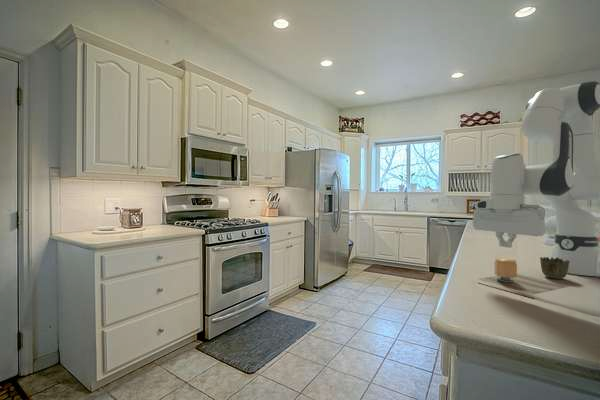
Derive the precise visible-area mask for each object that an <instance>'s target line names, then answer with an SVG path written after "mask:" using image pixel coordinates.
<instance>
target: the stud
mask: <svg viewBox="0 0 600 400" xmlns="http://www.w3.org/2000/svg"><path fill="white" fill-rule="evenodd" d="M497 280H498V281H500V282H505V283H514V280H513V279H510V278H507V277H498V278H497Z"/></svg>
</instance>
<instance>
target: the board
mask: <svg viewBox="0 0 600 400" xmlns="http://www.w3.org/2000/svg"><path fill="white" fill-rule="evenodd" d="M498 277H501V276H497V275H495V276H488V277H481V278H480V277H479V280H481V281H484V282H488V283H492V284H496V285H499V286H502V287H506V288H509V289H514V290H517V291H520V292H525V293H528V294H531V295H532V294H533V295H537V294H542V293H545V292H549V291H554V290H555V291H556V290H558V289H564V288H568V287H571V285H569V284H564V283H560V282H555V281H551V280H548V279H547V280H546V279H542V278H538V277H533V276H529V275H524V274H521V273H517V277H515V278H510V279H513V280H514V283H505V282H500V281H498V280H497V278H498ZM477 284H479V285H482V286H485V287H489V288H492V289H496V290H498V291H499V290H500V291H503V292H506V293H511V294H514V295H517V296H520V297H521V296H522V297H525V298H528V299H531V300H536V298H535V297H530V296H527V295H523V294H519V293H516V292H513V291H509V290H505V289H501V288H498V287H495V286H491V285H489V284H484V283H481V282H477Z"/></svg>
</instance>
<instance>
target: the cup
mask: <svg viewBox="0 0 600 400" xmlns="http://www.w3.org/2000/svg"><path fill="white" fill-rule="evenodd" d="M539 259H540V260H539V261H540V267H541V272H542V274H543V275H544V276H545V277H547V278H548V279H552V280H561V279H564V278H566V276H567V275H568V273H567V272H568V267H569V261H568V260H566V262H565V261H564V262H563V260H562V259H559V258H555V259H553V258H552V257H551V259H550V257H548V256H546V257H545V256H543V257H541V256H540V257H539Z"/></svg>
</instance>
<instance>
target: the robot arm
mask: <svg viewBox="0 0 600 400" xmlns="http://www.w3.org/2000/svg"><path fill="white" fill-rule="evenodd" d="M599 108H600V82H599V81H596V80H593V81H584V82H582V83H578V84H573V85H568V86H564V87H560V88H557V87H548V88H543V89H541V90H540V91H538V92H537V93H535V95H533V97H532V98H531V99H530V100H529V101H528V102H527V103H526V106H525V113H524V116H523V118H522V121H521V126H520V127H521V132H522V134H523V135H524V136H525V137H526V138H528V139H529V140H532V141H534V142H538V143H543V144H544V143H545V144H551V145H553V147H552V149H553V150H552V160H551V161H550V162H548V163H543V164H533V165H526V164H524V157H523V154H522V153H510V154H501V155H497V156H496V157H493V161H492V164H491V169H490V183H491V191H490V194H489V195H490V197H489V198H486V199H483V200H480V201H477V202H475V203H474V208H475V210H474V211H473V215H472V227H473V229H474V230H476V231H486V232H493V233H495V237H496V238H497V240H498V245H499V247H502V248H513V242H514V241H515V239H516V238H517V235H522V236H531V237H543V236H544V235H545V234H546V221H545V217H546V209H545V208H544V207H543V206H540V205H538V204H525V195H531V196H533V195H535V196H536V195H538V196H539V197H541V198H542V199H544V200H545V201H546V202H548V204H549V205H550V206H551V208H552V209H553V212H554V214H555V222H556V223H555V224H556V225H555V227H556V233H555V234H554V243H555V244H554V245H553V246H552V247H550V253H549V259H551V257H552V258H553V259H555V258H559V259H562V260H563V262H564V261H565V262H566V260H568V261H569V267H568V272H567V274H570V275H571V274H572V275H577V276H578V275H579V276H586V277H587V276H590V277H600V248H599V243H600V237H599V236H596V229H597V228H596V227H597V226H596V224H597V222H596V220H597V219H596V217H595V215H594V214H593V213H591V212H590V211H588V210H586V209H583V208H581V207H580V206H579V204H578V201H600V158H599V156H598V154H597V153H598V152H597V148H596V147H597V145H596V136H595V135H596V134H595V124H594V120H593V115H594V114H595V112H596V111H597V110H599ZM505 234H507V237H508V238H507V240H505V239H504V236H505Z"/></svg>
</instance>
